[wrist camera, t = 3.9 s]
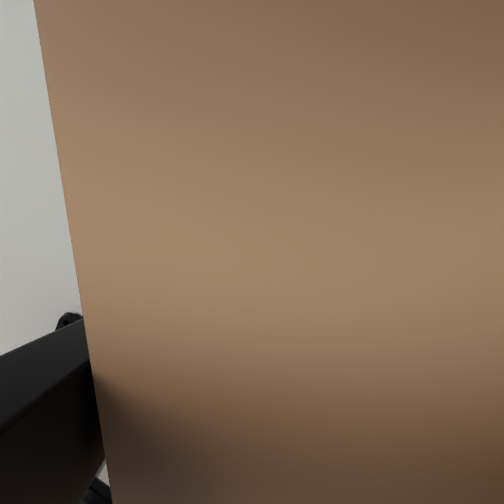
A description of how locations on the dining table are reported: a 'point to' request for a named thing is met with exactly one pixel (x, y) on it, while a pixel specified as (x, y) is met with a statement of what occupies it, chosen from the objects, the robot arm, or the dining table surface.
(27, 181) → the dining table surface
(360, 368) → the shelf board
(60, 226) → the dining table surface
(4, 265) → the dining table surface
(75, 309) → the dining table surface
